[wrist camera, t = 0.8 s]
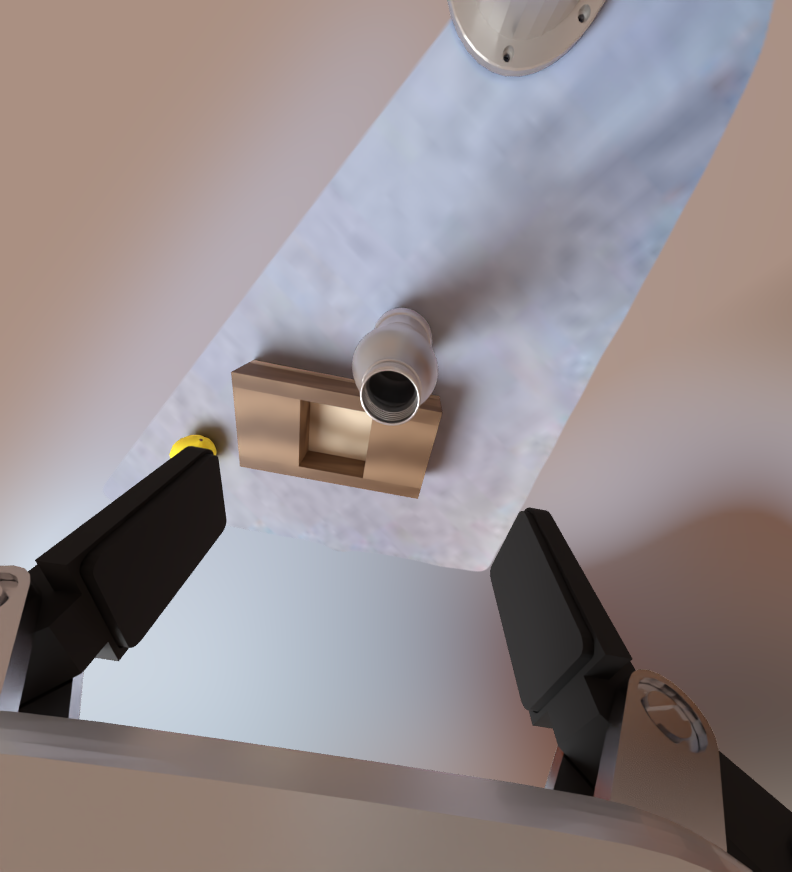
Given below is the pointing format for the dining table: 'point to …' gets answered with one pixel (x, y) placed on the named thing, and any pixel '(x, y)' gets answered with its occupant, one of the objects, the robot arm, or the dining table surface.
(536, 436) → the dining table surface
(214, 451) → the lemon
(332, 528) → the dining table surface
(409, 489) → the brown slotted block
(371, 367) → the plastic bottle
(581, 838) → the robot arm
